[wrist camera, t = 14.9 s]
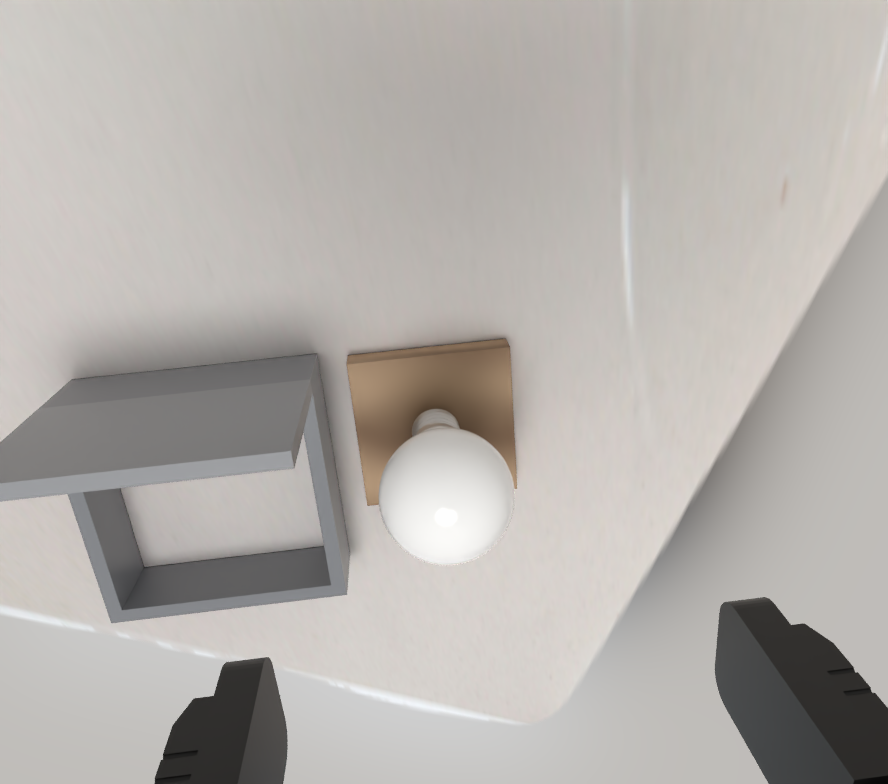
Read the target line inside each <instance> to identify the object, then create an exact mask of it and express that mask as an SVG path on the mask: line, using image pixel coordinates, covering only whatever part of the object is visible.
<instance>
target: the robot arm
mask: <svg viewBox="0 0 888 784" xmlns="http://www.w3.org/2000/svg"><path fill="white" fill-rule="evenodd" d="M715 675H716V682H717V686H718V690H719V693H720V696H721V699H722V701H723V703H724V705H725V707H726V709H727V711H728V713H729V714H730V716H731V718H732V720H733V721H734V723H735V725H736V726H737V728H738V730H739V732H740V734H741V735H742V737H743V739H744V741H745V743H746V744H747V746H748V748H749V749H750V751H751V753H752V755H753V756H754V758H755V760H756V762H757V764H758V765H759V767H760V769H761V771H762V772H763V774H764V776H765V778H766V779H767V781H768V783H769V784H888V708H887V707H886V706H885V704H884V703H883V702H882V701H881V700H880V698H879V697H878V696H877V695H876V694H875V693H872V692H871V689H870V686H869V685H868V684H867V683H866V682H865V681H864V679H863V678H862V677H861V676H860V675H859V673H855V671H854V668H853V666H852V665H851V664H850V662H849V661H848V660H847V659H846V658H845V657H844V655H843V654H842V653H841V652H840V651H839V649H838V648H837V647H836V646H835V645H834V643H832V642H831V641H829V640H828V639H826V638H825V637H823V636H822V635H820V634H819V633H818V632H816V631H815V630H813V629H812V628H810V627H809V626H807V625H806V624H797V625H790V624H789V622H788V621H787V619H786V618H785V617H784V616H783V614H782V613H781V612H780V610H779V609H778V608H777V607H776V605H775V604H774V603H773V602H772V601H771V600H770V599H768V598H765V597H763V598H755V599H747V600H738V601H731V602H724V603H723V604H722V605H721V608H720V613H719V625H718V637H717V649H716V661H715ZM286 760H287V729H286V721H285V716H284V712H283V708H282V704H281V699H280V695H279V691H278V686H277V682H276V678H275V673H274V669H273V665H272V662H271V660H270V658H269V657H266V658H258V659H250V660H242V661H234V662H226V663H225V664H224V665H223V667H222V670H221V673H220V676H219V680H218V683H217V687H216V690H215V694H214V696H211V697H203V698H195V699H193V700H192V702H191V703H190V704H189V706H188V707H187V708H186V709H185V711H184V712H183V713H182V714H181V716H180V717H179V718H178V719H177V721H176V722H175V723H174V725H173V726H172V730H171V732H170V735H169V738H168V741H167V744H166V747H165V750H164V753H163V760H161V762H160V765H159V768H158V771H157V774H156V776H155V784H283V781H284V773H285V767H286Z"/></svg>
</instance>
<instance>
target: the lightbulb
mask: <svg viewBox="0 0 888 784" xmlns="http://www.w3.org/2000/svg"><path fill="white" fill-rule="evenodd" d="M514 503H515V489H514V483H513V478H512V475H511V472H510V470H509V467H508V465H507V463H506V462H505V460H504V458H503V457H502V456H501V454H500V453H499V452H498V451H497V449H496V448H495V447H494V446H493V445H491V444H490V443H489V442H488V441H486V440H485V439H484V438H482V437H480V436H479V435H477V434H474V433H472V432H470V431H467V430H463V429H460V428H459V424H458V422H457V420H456V418H455V417H454V416H453V415H452V414H451V413H449V412H448V411H445V410H442V409H430V410H427V411H425V412H423V413H421V414H420V415H419V416H418V417H417V418H416V420H415V421H414V423H413V426H412V437H411V438H410V439H408V440H407V441H405V442H404V443H403V444H402V445H401V446H400V447H399V448H398V449H397V450H396V451H395V452H394V453H393V455H392V456H391V457H390V459H389V460H388V462H387V464H386V466H385V468H384V470H383V473H382V476H381V480H380V485H379V508H380V513H381V517H382V520H383V523H384V525H385V527H386V529H387V531H388V533H389V534H390V536H391V537H392V538H393V540H394V541H395V542H396V543H397V544H398V545H399V546H400V547H401V548H402V549H403V550H404V551H406V552H407V553H408V554H410V555H411V556H413V557H415V558H417V559H419V560H421V561H424V562H427V563H430V564H435V565H446V566H448V565H458V564H463V563H467V562H470V561H472V560H475V559H477V558H479V557H480V556H482V555H484V554H485V553H487V552H488V551H489V550H490V549H492V548H493V547H494V546H495V545H496V544H497V543H498V541H499V540H500V539H501V538H502V536H503V535H504V533H505V531H506V530H507V528H508V526H509V523H510V521H511V518H512V514H513V510H514Z"/></svg>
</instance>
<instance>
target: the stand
mask: <svg viewBox="0 0 888 784" xmlns="http://www.w3.org/2000/svg"><path fill="white" fill-rule="evenodd" d="M347 370H348V377H349V384H350V390H351V397H352V404H353V411H354V418H355V424H356V431H357V438H358V445H359V451H360V458H361V465H362V472H363V478H364V485H365V492H366V499H367V505H368V506H370V505H379V485H380V480H381V476H382V473H383V470H384V468H385V466H386V464H387V462H388V460H389V459H390V457H391V456H392V455H393V453H394V452H395V451H396V450H397V449H398V448H399V447H400V446H401V445H402V444H403V443H404V442H405V441H407V440H408V439H410V438H411V437H412V426H413V423H414V421H415V420H416V418H417V417H418V416H419V415H420V414H421V413H423V412H425V411H427V410H430V409H442V410H445V411H448V412H449V413H451V414H452V415H453V416H454V417H455V418H456V420H457V422H458V424H459V428H460V429H463V430H467V431H470V432H472V433H474V434H477V435H479V436H480V437H482V438H484V439H485V440H486V441H488V442H489V443H490V444H491V445H493V446H494V447H495V448H496V449H497V451H498V452H499V453H500V454H501V456H502V457H503V458H504V460H505V462H506V463H507V465H508V467H509V470H510V472H511V475H512V478H513V483H514V489H517V477H516V457H515V438H514V418H513V399H512V379H511V359H510V346H509V344H508V343H507V341H506V339H498V340H488V341H479V342H469V343H460V344H451V345H441V346H432V347H422V348H413V349H404V350H394V351H385V352H375V353H366V354H357V355H348V359H347Z"/></svg>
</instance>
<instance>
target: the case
mask: <svg viewBox="0 0 888 784" xmlns="http://www.w3.org/2000/svg"><path fill="white" fill-rule="evenodd" d="M303 431H304V437H305V442H306V448H307V454H308V459H309V465H310V470H311V476H312V481H313V487H314V492H315V498H316V503H317V509H318V515H319V520H320V526H321V531H322V537H323V542H324V547H316V548H307V549H299V550H290V551H282V552H273V553H265V554H256V555H248V556H239V557H231V558H222V559H214V560H205V561H197V562H188V563H180V564H171V565H163V566H154V567H146V568H144V566H143V563H142V560H141V556H140V553H139V550H138V547H137V543H136V540H135V537H134V533H133V530H132V527H131V524H130V520H129V517H128V514H127V510H126V507H125V504H124V501H123V497H122V494H121V491H120V488H125V487H133V486H142V485H151V484H160V483H169V482H178V481H187V480H195V479H204V478H213V477H222V476H231V475H240V474H249V473H257V472H266V471H275V470H284V469H293V468H294V467H295V463H296V459H297V455H298V451H299V447H300V443H301V439H302V435H303ZM62 494H68V496H69V499H70V502H71V505H72V508H73V511H74V514H75V517H76V520H77V523H78V526H79V529H80V532H81V535H82V538H83V541H84V544H85V547H86V550H87V552H88V555H89V558H90V561H91V564H92V567H93V570H94V573H95V576H96V579H97V582H98V585H99V588H100V591H101V594H102V597H103V600H104V603H105V606H106V609H107V612H108V615H109V618H110V620H111V623H117V622H125V621H133V620H142V619H150V618H158V617H166V616H175V615H183V614H191V613H200V612H208V611H216V610H224V609H233V608H241V607H249V606H258V605H266V604H274V603H283V602H291V601H299V600H307V599H316V598H324V597H332V596H341V595H347V587H348V574H349V561H350V551H349V545H348V539H347V533H346V527H345V521H344V515H343V509H342V502H341V496H340V490H339V484H338V478H337V472H336V466H335V460H334V454H333V448H332V442H331V436H330V429H329V423H328V417H327V411H326V405H325V399H324V393H323V387H322V381H321V375H320V369H319V362H318V356H317V354H309V355H299V356H290V357H281V358H271V359H262V360H252V361H243V362H234V363H224V364H215V365H205V366H196V367H186V368H177V369H168V370H158V371H149V372H139V373H130V374H121V375H111V376H102V377H92V378H83V379H73V380H71V381H70V382H68V383H67V384H66V385H65V386H64V387H63V388H62V389H61V390H59V391H58V392H57V393H56V394H55V395H54V396H53V397H51V398H50V399H49V400H48V401H47V402H46V403H45V404H43V405H42V406H41V407H40V408H39V409H38V410H37V411H35V412H34V413H33V414H32V415H31V416H30V417H29V418H28V419H26V420H25V421H24V422H23V423H22V424H21V425H20V426H18V427H17V428H16V429H15V430H14V431H13V432H12V433H10V434H9V435H8V436H7V437H6V438H5V439H4V440H3V441H1V442H0V501H9V500H18V499H27V498H36V497H45V496H54V495H62Z"/></svg>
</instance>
